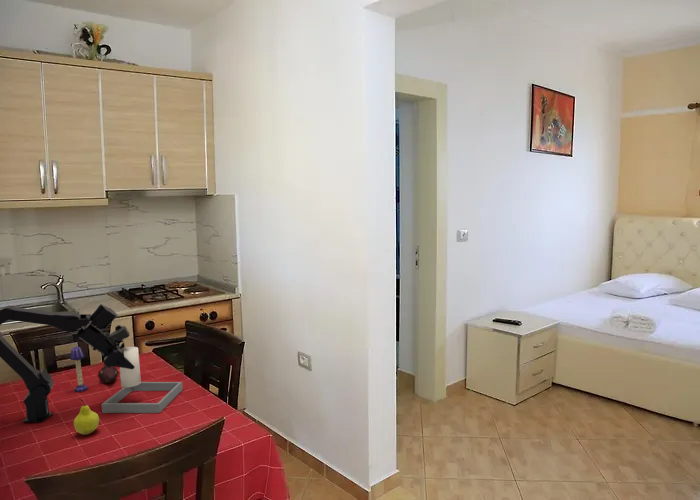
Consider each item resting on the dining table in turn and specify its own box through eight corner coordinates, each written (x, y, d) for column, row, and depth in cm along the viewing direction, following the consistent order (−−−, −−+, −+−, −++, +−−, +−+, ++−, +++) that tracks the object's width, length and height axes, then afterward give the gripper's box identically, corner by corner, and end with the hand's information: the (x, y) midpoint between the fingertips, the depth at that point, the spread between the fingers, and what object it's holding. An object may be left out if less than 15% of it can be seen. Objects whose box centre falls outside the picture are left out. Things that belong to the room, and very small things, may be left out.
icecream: (123, 368, 201) (116, 361, 213) (102, 368, 197) (96, 360, 209) (119, 387, 200) (113, 378, 213) (99, 386, 196) (93, 378, 209)
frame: (159, 412, 175) (158, 404, 174) (102, 412, 176) (101, 404, 176) (182, 389, 195) (182, 382, 194) (130, 389, 196) (130, 382, 196)
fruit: (94, 426, 166) (90, 390, 165) (104, 432, 162) (100, 395, 161) (71, 434, 161) (67, 397, 160) (81, 440, 157) (77, 402, 155)
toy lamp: (83, 392, 194) (79, 349, 192) (70, 392, 194) (66, 349, 192) (89, 387, 199) (85, 345, 197) (77, 387, 199) (73, 345, 197)
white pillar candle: (135, 387, 180) (132, 352, 178) (117, 387, 180) (114, 352, 179) (144, 380, 186) (141, 346, 184) (126, 380, 186) (124, 346, 185)
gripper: (112, 327, 170) (150, 354, 176) (114, 314, 187) (149, 340, 193) (87, 353, 168) (127, 381, 174) (92, 338, 185) (128, 364, 191)
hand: (133, 365), depth 183 cm, fingers closed on white pillar candle, 6 cm apart
